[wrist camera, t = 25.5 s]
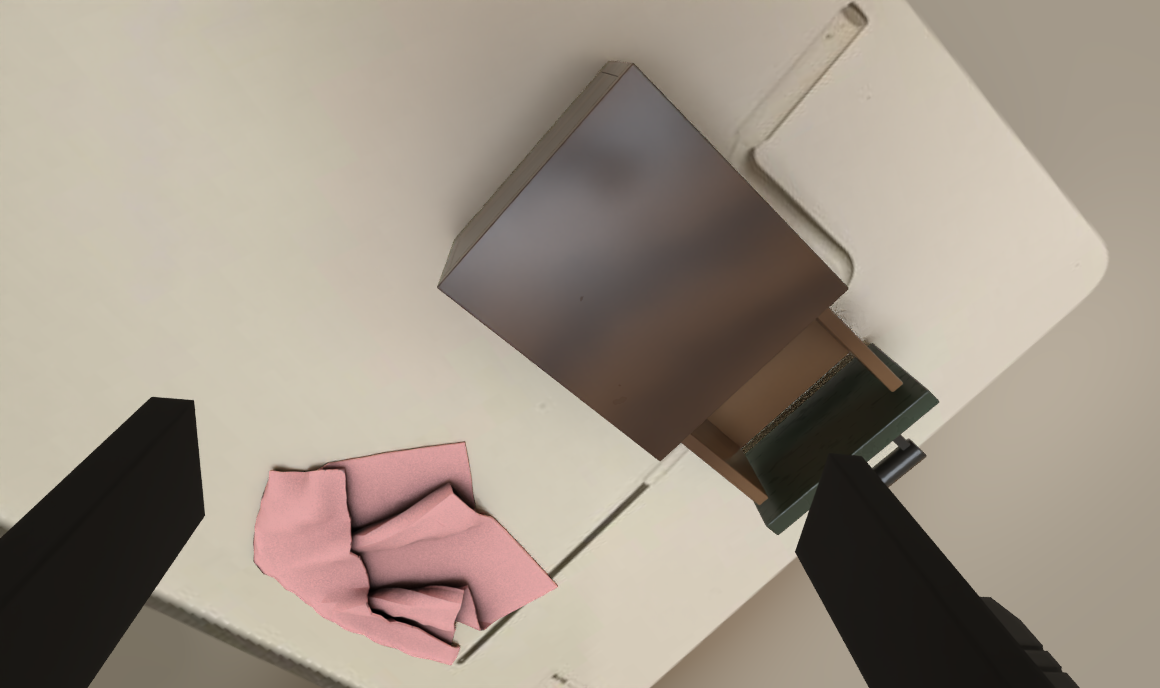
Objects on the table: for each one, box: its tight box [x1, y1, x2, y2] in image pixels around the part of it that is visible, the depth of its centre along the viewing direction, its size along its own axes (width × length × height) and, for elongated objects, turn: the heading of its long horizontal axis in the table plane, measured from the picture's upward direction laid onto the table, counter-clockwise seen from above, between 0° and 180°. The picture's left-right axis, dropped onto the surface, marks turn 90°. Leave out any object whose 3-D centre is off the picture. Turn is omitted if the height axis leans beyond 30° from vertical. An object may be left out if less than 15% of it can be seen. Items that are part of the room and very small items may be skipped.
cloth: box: [253, 442, 558, 665], centre depth 48 cm, size 20×22×2 cm
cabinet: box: [437, 60, 848, 461], centre depth 37 cm, size 16×14×9 cm
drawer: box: [681, 307, 939, 535], centre depth 41 cm, size 19×12×7 cm, turn 47°
